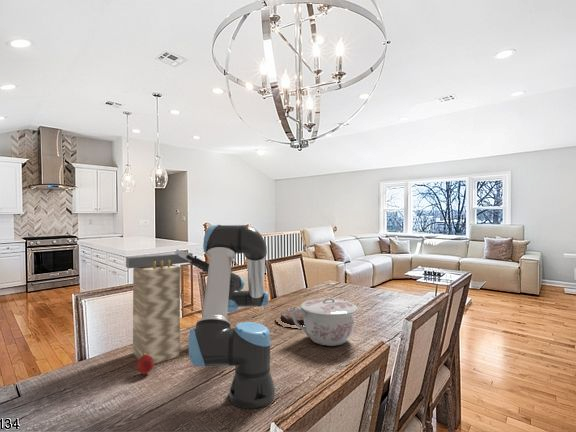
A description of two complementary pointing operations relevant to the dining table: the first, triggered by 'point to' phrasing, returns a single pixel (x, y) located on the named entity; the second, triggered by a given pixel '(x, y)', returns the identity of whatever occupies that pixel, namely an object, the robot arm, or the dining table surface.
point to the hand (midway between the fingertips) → (177, 252)
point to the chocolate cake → (287, 317)
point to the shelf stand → (156, 311)
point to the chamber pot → (327, 320)
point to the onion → (145, 364)
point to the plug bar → (148, 260)
